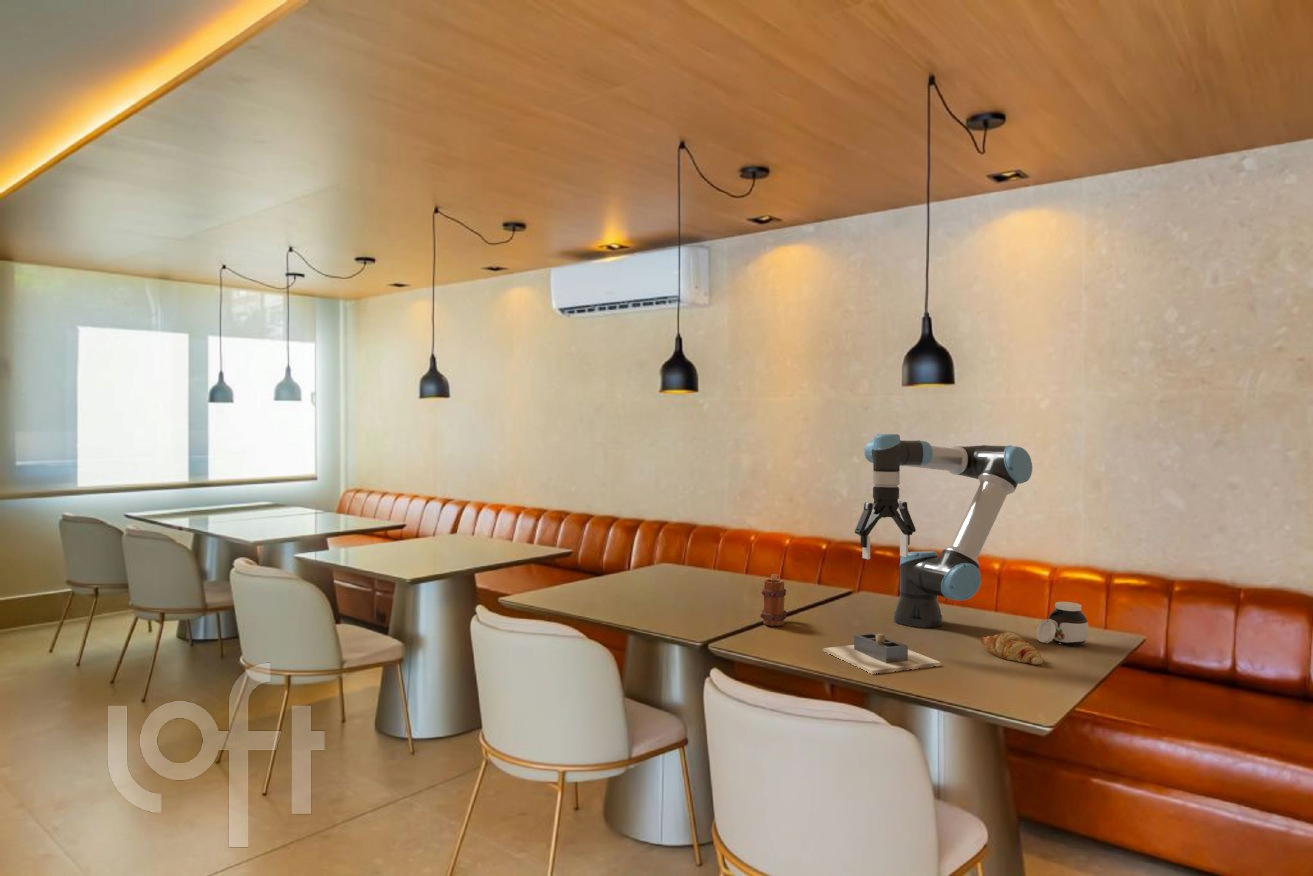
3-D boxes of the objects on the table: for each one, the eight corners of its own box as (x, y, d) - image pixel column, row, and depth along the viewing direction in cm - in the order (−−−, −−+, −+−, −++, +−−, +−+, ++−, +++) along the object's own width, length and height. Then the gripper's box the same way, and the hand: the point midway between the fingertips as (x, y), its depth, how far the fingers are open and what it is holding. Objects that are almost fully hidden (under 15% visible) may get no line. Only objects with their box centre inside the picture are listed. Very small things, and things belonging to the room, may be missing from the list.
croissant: (1049, 679, 209) (1060, 651, 211) (1025, 665, 206) (1037, 637, 207) (987, 656, 229) (997, 631, 230) (964, 643, 225) (975, 617, 226)
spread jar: (1092, 645, 230) (1092, 606, 230) (1069, 651, 224) (1069, 610, 224) (1053, 636, 240) (1053, 598, 240) (1030, 641, 234) (1031, 602, 234)
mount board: (887, 644, 229) (887, 622, 229) (940, 665, 208) (940, 641, 208) (822, 651, 221) (823, 628, 220) (871, 674, 200) (872, 649, 200)
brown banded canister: (785, 629, 246) (786, 581, 246) (759, 627, 247) (760, 580, 247) (787, 618, 260) (788, 573, 260) (762, 617, 262) (763, 571, 261)
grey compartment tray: (907, 660, 209) (907, 645, 209) (886, 663, 207) (886, 648, 206) (874, 647, 222) (874, 633, 222) (854, 649, 220) (854, 635, 220)
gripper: (911, 484, 241) (910, 553, 241) (843, 485, 232) (842, 557, 232) (928, 486, 234) (927, 557, 234) (858, 487, 225) (857, 561, 225)
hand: (885, 557), depth 233 cm, fingers open, 13 cm apart
